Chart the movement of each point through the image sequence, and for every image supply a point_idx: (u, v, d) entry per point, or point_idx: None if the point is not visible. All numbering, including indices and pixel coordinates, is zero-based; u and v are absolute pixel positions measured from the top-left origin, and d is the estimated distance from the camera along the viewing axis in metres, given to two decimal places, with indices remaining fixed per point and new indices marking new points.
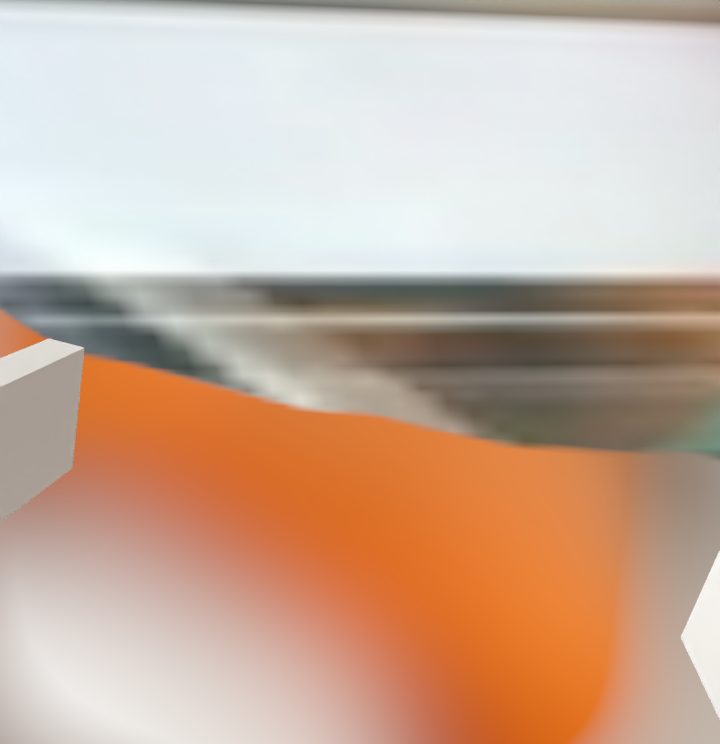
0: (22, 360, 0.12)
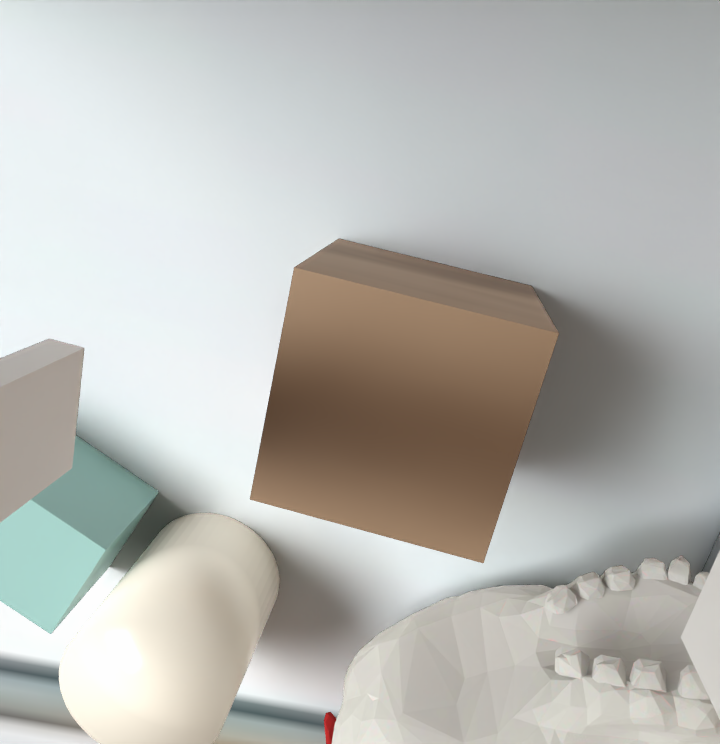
0: (22, 360, 0.12)
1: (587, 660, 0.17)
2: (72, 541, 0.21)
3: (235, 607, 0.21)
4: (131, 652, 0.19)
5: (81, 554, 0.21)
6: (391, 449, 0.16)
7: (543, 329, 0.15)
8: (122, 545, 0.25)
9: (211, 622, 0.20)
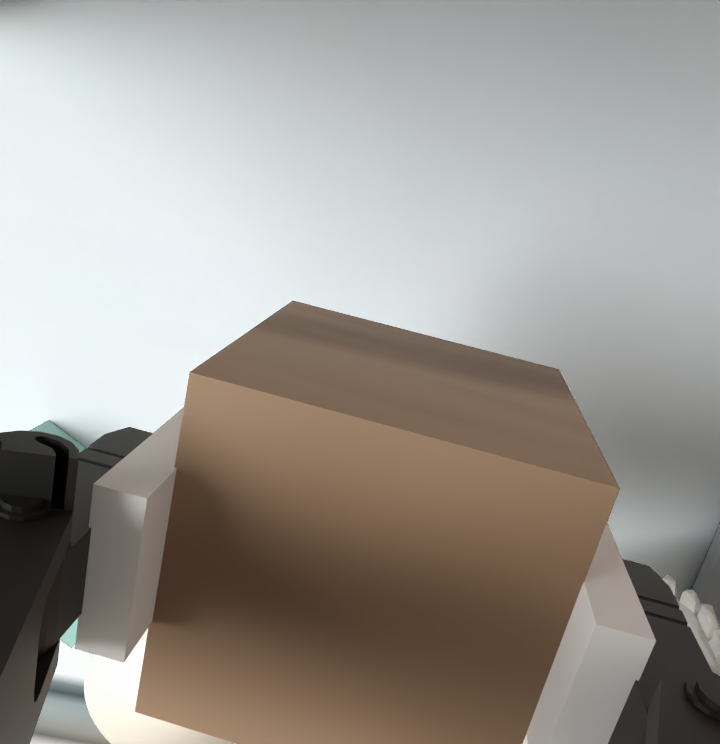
0: None
1: None
2: None
3: None
4: None
5: None
6: (348, 652, 0.10)
7: (594, 481, 0.09)
8: None
9: None
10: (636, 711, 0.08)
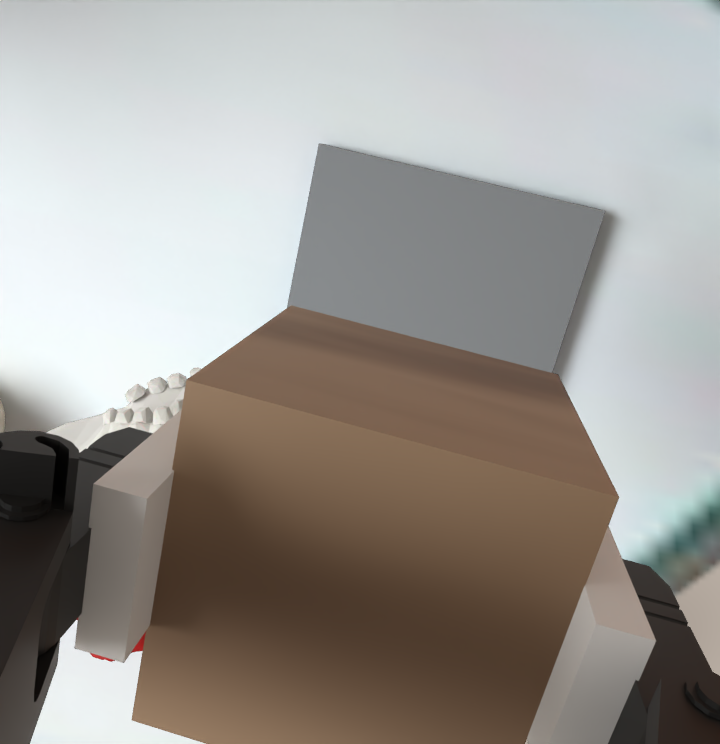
0: None
1: None
2: None
3: None
4: None
5: None
6: (346, 661, 0.10)
7: (593, 490, 0.09)
8: None
9: None
10: (636, 711, 0.08)
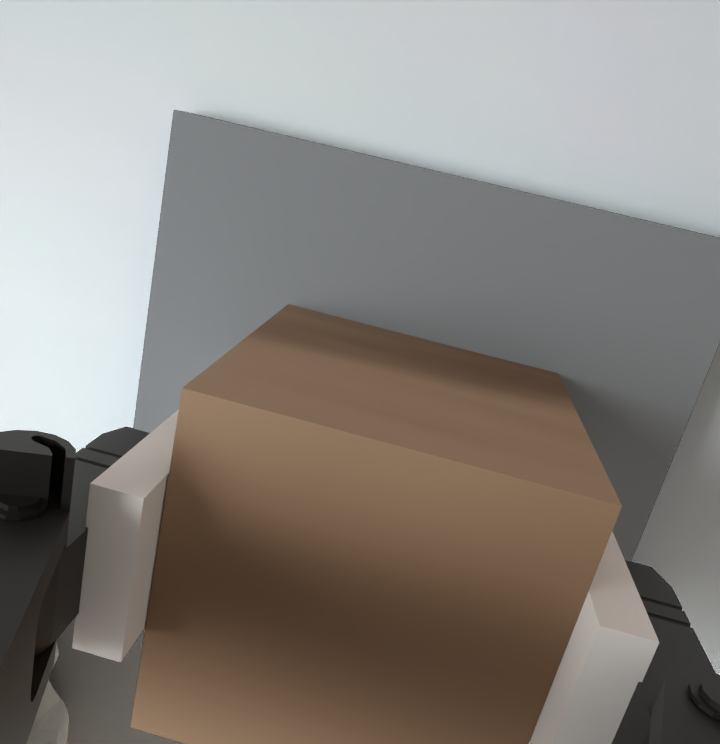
0: None
1: None
2: None
3: None
4: None
5: None
6: (346, 669, 0.10)
7: (595, 498, 0.09)
8: None
9: None
10: (639, 713, 0.08)
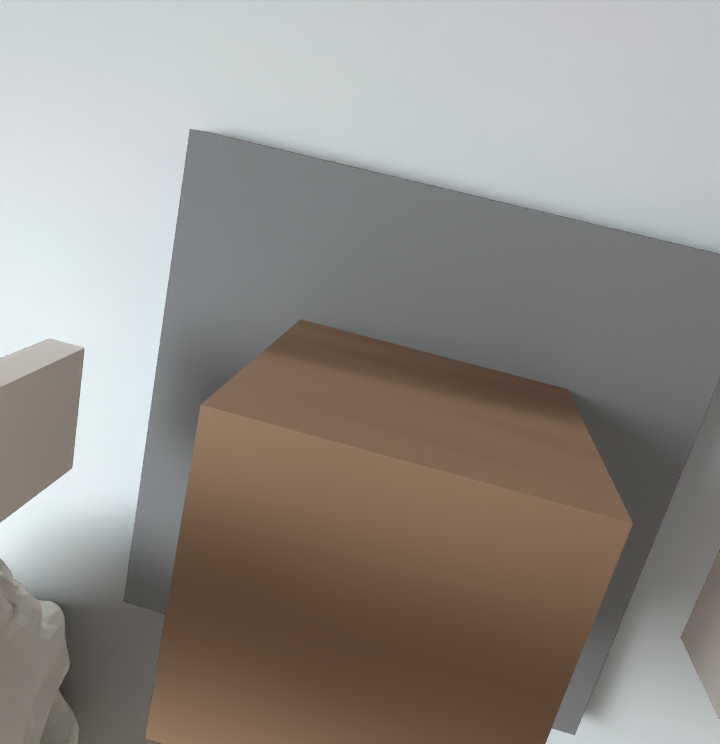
0: (22, 360, 0.12)
1: None
2: None
3: None
4: None
5: None
6: (359, 682, 0.10)
7: (606, 515, 0.09)
8: None
9: None
10: None
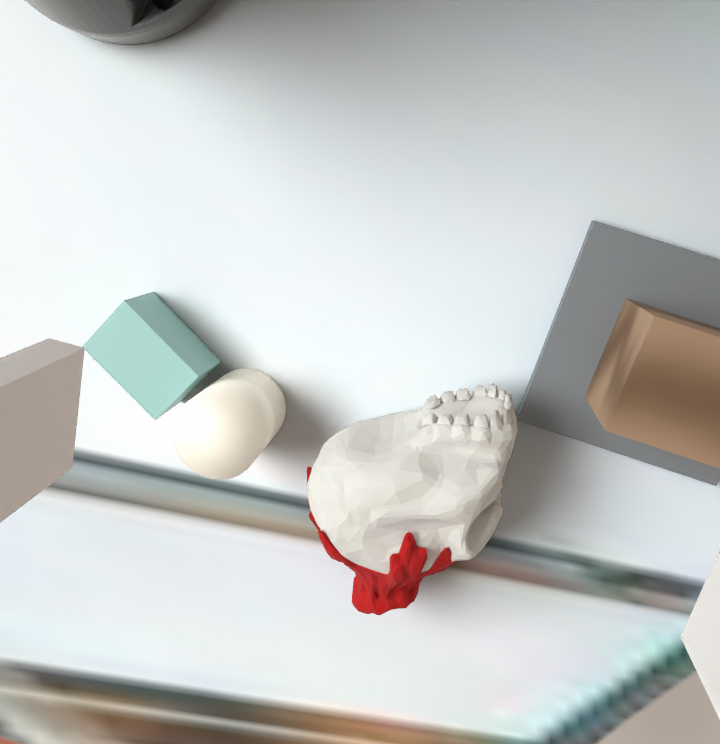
0: (22, 360, 0.12)
1: (436, 418, 0.36)
2: (181, 369, 0.39)
3: (264, 405, 0.39)
4: (213, 412, 0.37)
5: (184, 376, 0.39)
6: (686, 408, 0.33)
7: None
8: (193, 388, 0.43)
9: (253, 405, 0.38)
10: None
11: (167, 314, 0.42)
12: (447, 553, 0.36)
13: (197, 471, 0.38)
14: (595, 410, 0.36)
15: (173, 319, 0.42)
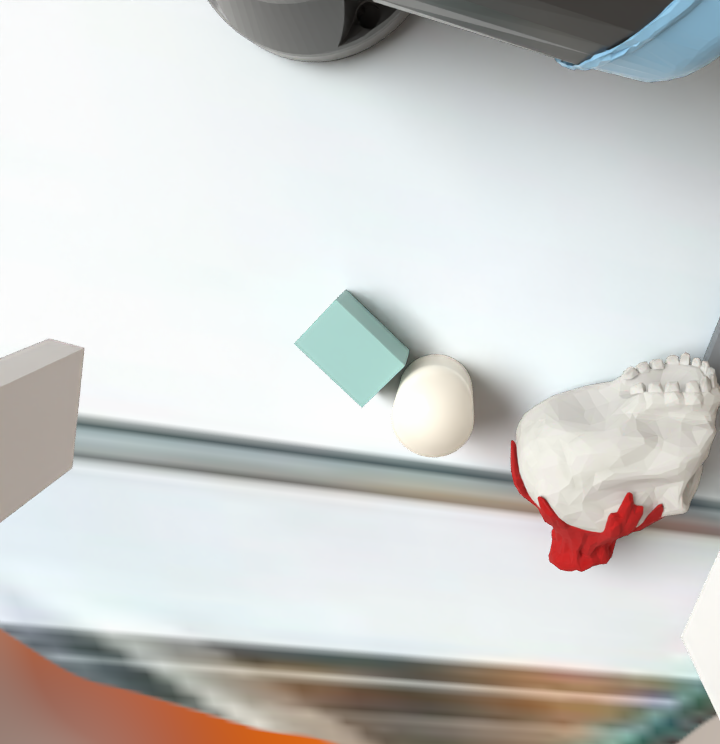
0: (22, 360, 0.12)
1: (645, 387, 0.39)
2: (389, 359, 0.43)
3: (467, 387, 0.43)
4: (430, 396, 0.41)
5: (391, 366, 0.43)
6: None
7: None
8: None
9: (463, 387, 0.42)
10: None
11: (362, 309, 0.45)
12: (660, 509, 0.39)
13: (415, 451, 0.42)
14: None
15: (367, 313, 0.45)
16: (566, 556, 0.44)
